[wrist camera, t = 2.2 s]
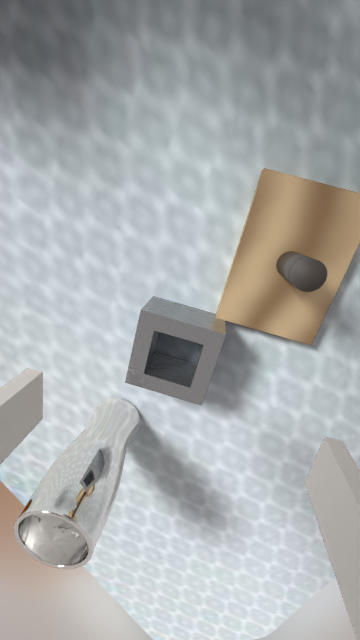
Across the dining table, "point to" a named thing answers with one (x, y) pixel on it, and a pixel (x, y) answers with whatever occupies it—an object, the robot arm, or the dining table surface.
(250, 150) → the dining table surface
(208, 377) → the grey hollow square block
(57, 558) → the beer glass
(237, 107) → the dining table surface
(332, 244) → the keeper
